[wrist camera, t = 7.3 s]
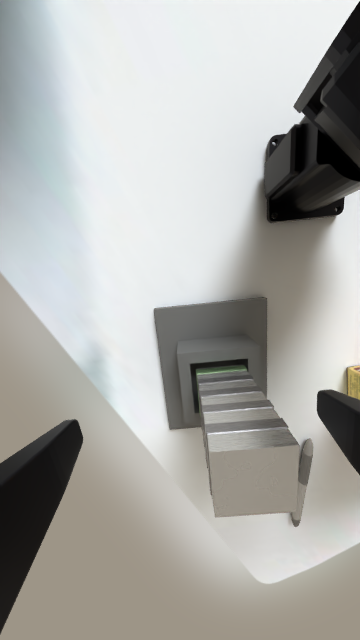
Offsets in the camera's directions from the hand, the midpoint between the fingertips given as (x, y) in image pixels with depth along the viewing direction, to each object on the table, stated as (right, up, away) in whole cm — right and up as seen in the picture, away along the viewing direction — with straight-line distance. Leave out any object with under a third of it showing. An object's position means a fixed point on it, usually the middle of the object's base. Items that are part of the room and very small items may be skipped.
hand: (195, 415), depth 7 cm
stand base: (+3, -1, +13) cm, 14 cm away
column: (+3, -2, +10) cm, 10 cm away
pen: (+15, -17, +18) cm, 28 cm away
